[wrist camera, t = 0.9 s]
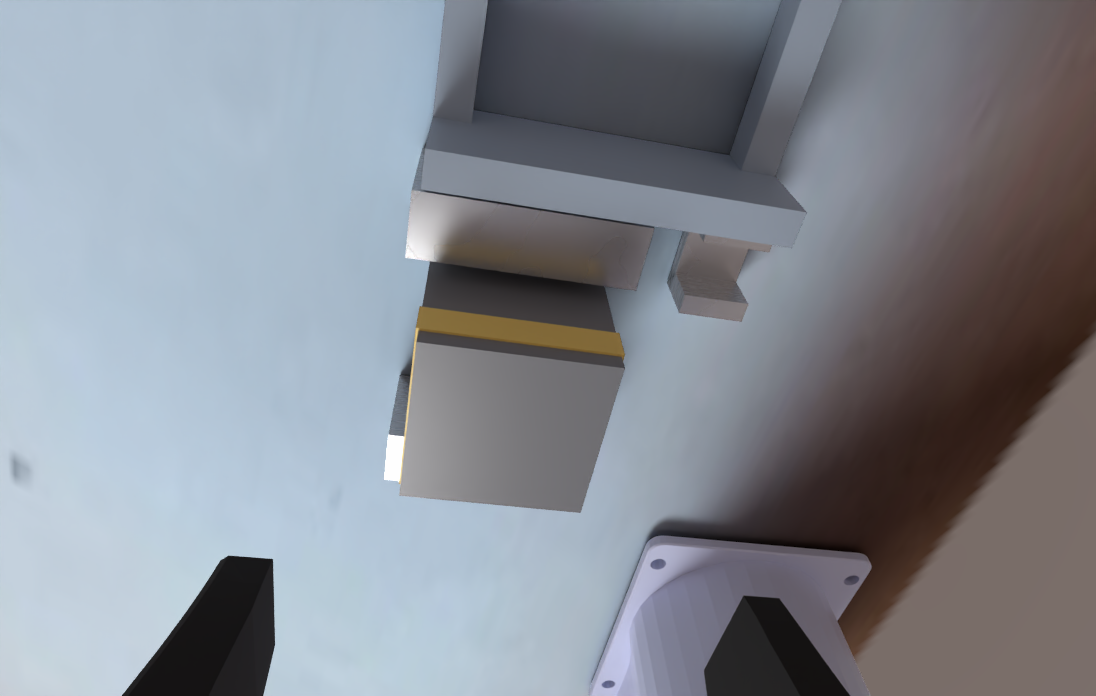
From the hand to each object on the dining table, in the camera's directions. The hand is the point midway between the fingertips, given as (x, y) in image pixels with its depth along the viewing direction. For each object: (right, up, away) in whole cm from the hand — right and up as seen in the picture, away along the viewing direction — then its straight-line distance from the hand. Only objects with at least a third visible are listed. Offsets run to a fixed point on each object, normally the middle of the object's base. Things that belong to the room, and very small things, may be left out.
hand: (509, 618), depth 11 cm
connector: (-1, +5, +8) cm, 9 cm away
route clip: (+5, +7, +7) cm, 11 cm away
